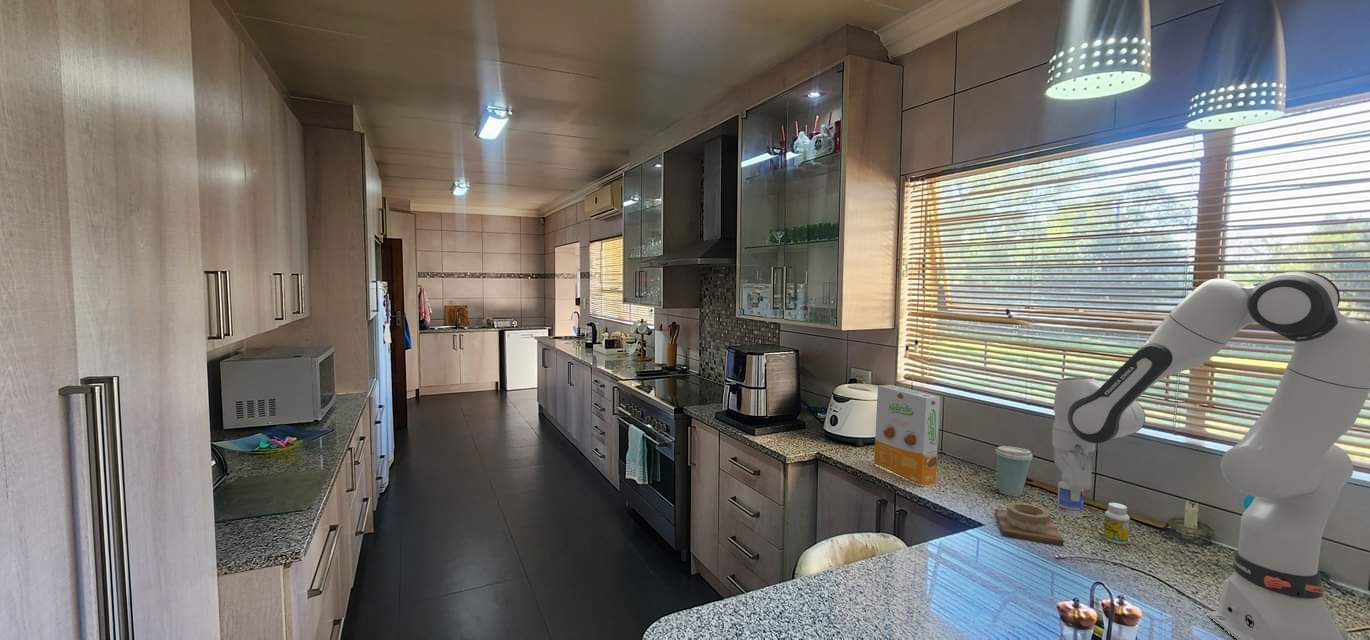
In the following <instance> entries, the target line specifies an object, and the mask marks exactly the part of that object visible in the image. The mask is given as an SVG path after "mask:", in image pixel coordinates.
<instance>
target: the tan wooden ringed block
mask: <svg viewBox="0 0 1370 640" xmlns="http://www.w3.org/2000/svg"><path fill="white" fill-rule="evenodd" d="M994 510H995V511H994V512H995V513H994V514H995V518H996V520H997V523H998V524H997V525H999V529H1000V532H1001V535H1002V536H1003V537H1006V538H1014V539H1020V540H1025V541H1032V542H1037V543H1043V544H1049V545H1056V546H1062V547H1063V546H1064V542H1065V541H1064V539H1063V537H1062V535H1061V534H1060V532H1059V530H1058V528H1057V526H1056V524H1055V522H1054V521H1053V519H1052V517H1051V513H1050V512H1049V510H1048V509H1046V508H1044V507H1042V506H1038V505H1036V504H1032V503H1025V502H1010V503H1008V504H1007V505H1006V509H1001V508H995V509H994Z"/></svg>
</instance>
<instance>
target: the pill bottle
mask: <svg viewBox="0 0 1370 640" xmlns="http://www.w3.org/2000/svg"><path fill="white" fill-rule="evenodd" d="M1062 479H1063V480H1062ZM1070 491H1071V486H1070V483H1069V481H1068V480H1067V479H1066V478H1065V476H1064V474H1063V473H1061V480H1060V481H1059V482H1058V484H1057V503H1056V504H1057V506H1056V507H1057V508H1056V509H1057V511H1058V512H1059V513H1060V514H1063V515H1066V516H1070V517H1081V516H1083V514H1084V495H1085V489H1082V490H1081V493H1080V499H1079V501H1072V500H1071V499H1070V497H1069V496H1070Z"/></svg>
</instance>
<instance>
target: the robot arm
mask: <svg viewBox="0 0 1370 640" xmlns="http://www.w3.org/2000/svg"><path fill="white" fill-rule="evenodd" d="M1340 295H1341V294H1340V291H1339V289H1338V287H1337V286H1336V285H1335V283H1334V282H1333V281H1332V280H1330V279H1329V278H1328V277H1326V276H1324V275H1321V274H1319V273H1317V272H1311V271H1302V270H1301V271H1287V272H1286V271H1285V272H1281V273H1278V274H1275V275H1272V276H1271V277H1268V278H1267V279H1264V280H1263V281H1261V282H1259V283H1256V284H1254V285H1253V286H1251V285H1246V284H1242V283H1241V282H1238V281H1237V280H1236V281H1235V280H1232V279H1228V278H1212V279H1208V280H1206V281H1204V282H1202V284H1200V285H1198V286H1197V287H1196V288H1195V289H1193V290H1192V291H1191V292H1190V293H1189V294H1187V295H1186V296H1185V297H1184V298H1183V299H1182V300H1181V301H1180V302H1178V304H1176V306H1175V307H1174V308H1173V309H1171V311H1170V312H1169V313H1168V315H1166V316H1165V318H1164V319H1163V320H1162V321H1161V322H1160V323H1159V325H1158V326H1157V327H1156V328H1155V330H1154V331H1153V332H1152V333H1151V335H1150V336H1149V337H1148V338H1147V339H1146V341H1145V342H1143V344H1142V345H1141V346H1139V348H1138V349H1137V350H1136V351H1135V353H1134V354H1133V355H1132V356H1131V357H1129V359H1128V360H1126V361H1125V362H1124V364H1123V365H1121V366H1120V367H1119V368H1118V369H1117V370H1116V371H1115V372H1114V373H1113V374H1112V375H1111V376H1110V377H1109V378H1108V379H1107V380H1106V381H1105V383H1104V384H1101V383H1100V382H1098V380H1096V379H1095V378H1094V377H1091V376H1074V377H1065V378H1062V379H1061V380H1059V381H1058V382H1057V384H1056V388H1055V392H1054V393H1055V394H1054V399H1053V412H1054V422H1053V424H1052V431H1051V435H1050V438H1051V441H1052V442H1051V444H1052V446H1053V461H1054V465H1055V466H1056V468H1057V469H1058V470H1059V472H1060V473H1061V474H1062V473H1063V474H1064V476H1065V478H1066V479H1067V480H1068V481H1069V483H1070V486H1071V491H1070V496H1069V497H1070V499H1071V500H1072V501H1079V499H1080V493H1081V490H1082V489H1084V490H1087V491H1088V490H1091V487H1092V460H1091V457H1090V456H1089V453H1093V452H1095V449H1096V444H1102V443H1105V442H1108V441H1111V440H1113V439H1118V438H1122V437H1126V436H1129V435H1132V434H1135V433H1137V432H1139V431H1140V430H1141V429H1142V428H1144V425H1145V422H1146V413H1145V409H1144V408H1143V406H1142V405H1141V403H1139V401H1137V400H1138V399H1139V398H1140V397H1141V396H1142V395H1144V393H1145V392H1146V391H1147V390H1148V389H1150V388H1151V387H1152V386H1154V385H1155V384H1156V383H1158V382H1160V381H1161V380H1163V379H1165V378H1167V377H1170V376H1172V375H1175V374H1178V373H1181V372H1183V371H1187V370H1190V369H1193V368H1196V367H1199V366H1201V365H1202V364H1204V363H1206V362H1207V361H1209V359H1211V358H1213V357H1214V356H1215V355H1216V354H1217V353H1219V352H1220V351H1221V350H1222V349H1223V348H1224V347H1225V346H1226V345H1227V344H1228V343H1229V342H1230V341H1231V340H1232V339H1233V338H1234V337H1235V336H1236V335H1237V334H1238V333H1239V332H1240V331H1241V330H1242V329H1244V328H1245V327H1247V326H1248V325H1251V324H1255V323H1257V324H1258V325H1260V326H1261V327H1263V328H1265V329H1266V330H1269V331H1271V332H1274V333H1276V334H1277V335H1280V336H1282V337H1284V338H1286V339H1288V340H1290V341H1293V342H1294V348H1293V352H1292V354H1291V357H1290V359H1289V362H1288V363H1287V366H1286V368H1285V370H1284V372H1283V374H1282V377H1281V378H1280V381H1279V383H1278V385H1277V388H1276V389H1275V392H1274V395H1273V397H1272V399H1271V400H1270V402H1269V404H1268V405H1267V407H1266V409H1265V410H1264V411H1263V412H1262V414H1261V415H1260V416H1259V418H1258V419H1257V420H1256V421H1255V422H1254V423H1253V425H1252V426H1251V427H1250V428H1249V430H1248V431H1247V432H1246V433H1245V435H1244V436H1243V437H1242V438H1241V439H1240V441H1238V443H1236V444H1235V445H1234V446H1233V447H1231V448H1229V450H1227V451H1226V452H1225V453H1224V454H1222V455H1223V456H1222V457H1221V460H1220V471H1221V473H1222V476H1223V477H1224V480H1225V481H1226V482H1227V484H1229V486H1230V487H1232V488H1233V489H1235V490H1236V491H1237V492H1240V493H1241V494H1244V495H1246V496H1250V497H1254V498H1253V500H1252V501H1251V503H1250V504H1249V506H1248V507H1247V508H1246V509H1245V510H1244V512H1243V513H1242V515H1241V519H1240V528H1239V537H1238V538H1239V539H1238V548H1237V550H1235V551H1234V556H1233V559H1232V562H1233V567H1232V568H1233V570H1234V571H1233V573H1232V574H1231V575H1230V576H1229V577H1228V578H1226V579H1225V580H1224V581H1223V584H1222V588H1221V593H1220V598H1219V602H1218V607H1217V610H1214V611H1210V612H1209V616H1210V617H1211V618H1212V619H1214V620H1215V621H1216V622H1217V623H1219V624H1220V625H1221V626H1222V627H1223V628H1224V629H1226V630H1227V631H1228V632H1229V633H1230V634H1231V635H1233V636H1234V637H1235V638H1236V639H1237V640H1349V632H1348V630H1347V629H1346V628H1345V627H1342V626H1339V625H1337V623H1336V622H1335V620H1334V613H1333V611H1331V610H1329V609H1328V607H1327V605H1326V604H1325V601H1324V600H1323V599H1324V598H1323V595H1324V592H1323V590H1324V589H1325V588H1324V587H1323V581H1322V579H1321V573H1320V572H1319V569H1318V568H1319V561H1320V554H1321V545H1322V539H1323V533H1324V530H1325V528H1326V525H1327V523H1328V520H1329V518H1330V516H1331V513H1332V511H1333V508H1334V507H1335V504H1336V502H1337V498H1338V496H1339V494H1340V492H1341V490H1342V489H1343V487H1344V485H1346V484H1347V483H1348V481H1350V479H1351V478H1352V476H1353V473H1354V464H1353V461H1352V459H1351V457H1350V456H1349V454H1348V453H1347V452H1346V451H1345V450H1344V449H1342V448H1341V446H1338V445H1336V444H1335V443H1336V442H1337V441H1338V440H1339V439H1340V438H1341V437H1342V436H1344V434H1345V433H1347V432H1348V431H1350V430H1351V429H1352V428H1353V426H1354V425H1355V423H1356V421H1357V418H1358V417H1359V415H1360V413H1361V410H1362V409H1363V408H1364V404H1365V403H1366V401H1367V399H1368V396H1369V395H1370V323H1368V322H1365V321H1363V320H1359V319H1355V318H1349V317H1347V316H1345V315H1343V314H1342V313H1341V312H1340V310H1339V309H1338V307H1339V304H1340V300H1341V296H1340ZM1062 480H1063V479H1062V478H1061V481H1062ZM1209 616H1208V617H1209ZM1230 634H1229V635H1230ZM1231 635H1230V636H1231ZM1236 639H1235V640H1236Z"/></svg>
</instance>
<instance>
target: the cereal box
mask: <svg viewBox="0 0 1370 640" xmlns="http://www.w3.org/2000/svg"><path fill="white" fill-rule="evenodd" d="M940 407H941V396H938V395H934V394H930V393H926V392H922V391H918V390H913V389H909V388H906V387H901V386H897V385H894V384H884V385H883V384H882V385H881V384H880V385H877V396H876V416H875V419H876V420H875V438H874V459H873V460H874V461H873V464H874V463H875V464H877V465H879V466H881V467H883V468H886V469H888V470H890V471H892V472H894V473H896V474H898V475H900V476H902V477H904V478H906V479H909V480H910V481H913V482H915V483H918V484H920V485H930V484H935V485H936V480H937V464H938V462H937V460H938V448H939V447H938V444H939V427H940V426H939V425H940V409H941V408H940Z"/></svg>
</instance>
